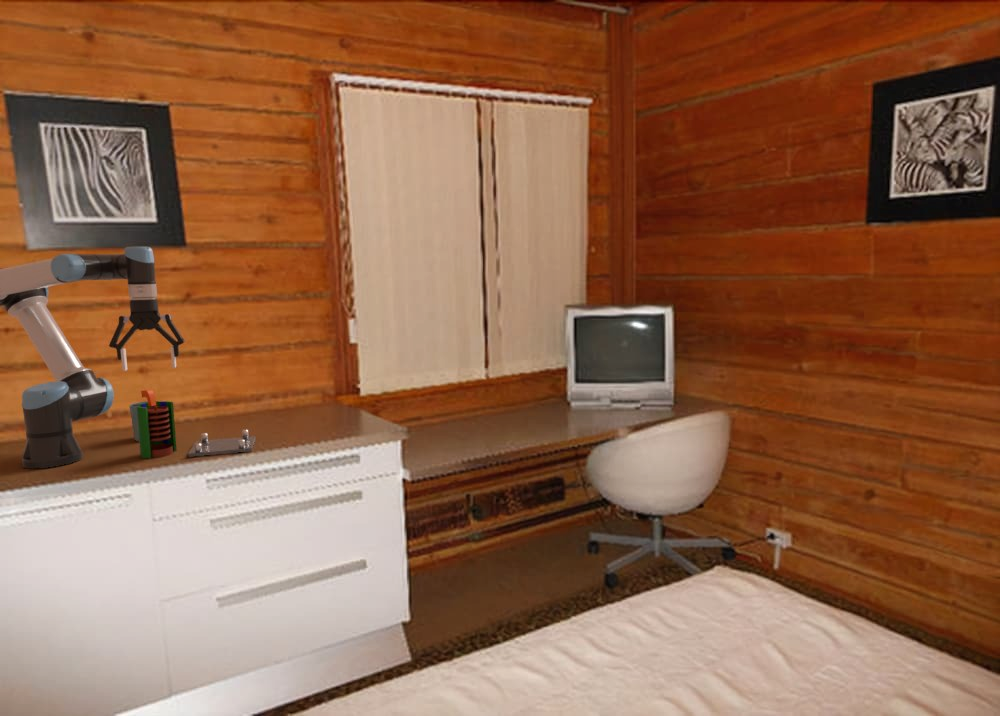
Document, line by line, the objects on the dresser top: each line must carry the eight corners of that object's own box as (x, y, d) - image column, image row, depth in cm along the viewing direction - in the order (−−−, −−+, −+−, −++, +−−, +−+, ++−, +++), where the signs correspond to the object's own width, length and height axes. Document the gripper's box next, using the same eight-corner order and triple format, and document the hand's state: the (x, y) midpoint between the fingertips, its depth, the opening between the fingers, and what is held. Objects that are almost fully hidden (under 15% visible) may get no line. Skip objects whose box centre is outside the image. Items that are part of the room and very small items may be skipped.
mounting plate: (188, 457, 207) (187, 445, 206) (196, 444, 222) (195, 433, 221) (251, 451, 211) (250, 440, 211) (255, 439, 227) (254, 428, 226)
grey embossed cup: (133, 437, 235) (129, 402, 233) (165, 433, 239) (162, 399, 238) (132, 443, 226) (129, 407, 224) (166, 439, 230) (163, 404, 229)
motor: (159, 459, 206) (152, 393, 203) (133, 458, 208) (126, 393, 205) (181, 450, 216) (175, 387, 213) (156, 449, 217) (150, 387, 215)
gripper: (93, 300, 198) (100, 373, 201) (186, 297, 205) (192, 368, 208) (100, 299, 206) (107, 369, 208) (190, 296, 212) (196, 364, 215)
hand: (149, 369), depth 208 cm, fingers open, 13 cm apart
